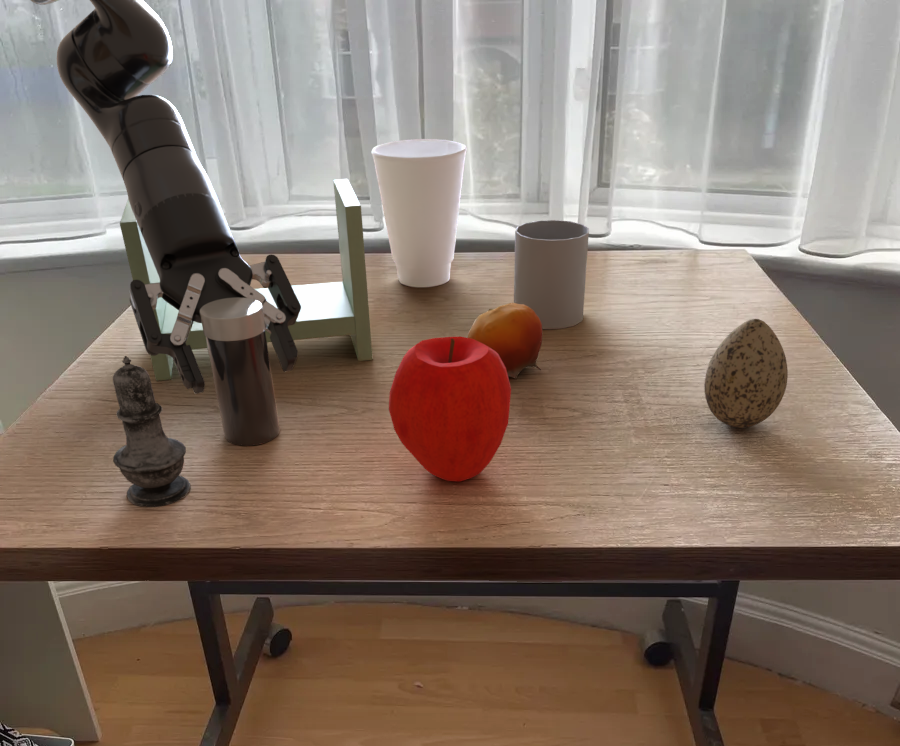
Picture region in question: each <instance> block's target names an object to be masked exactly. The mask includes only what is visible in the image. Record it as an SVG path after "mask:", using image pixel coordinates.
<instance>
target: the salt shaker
mask: <svg viewBox="0 0 900 746" xmlns="http://www.w3.org/2000/svg"><path fill="white" fill-rule="evenodd" d="M121 362H122V364H123V365H122V366H121V367H119V368H118V369H117V370H115V372H114V373H113V375H112V384H113V388H114V391H115V394H116V395H115V396H116V400H117V404H118V407H119V409H117V411H116V414H115V416H116V417H117V419H118V420H120V421H121V422H122V426H123V430H124V434H125V441H126V442H125V445H123V446H121V447H119V449H118V450H117V451H116V452H115V454H114V455H113V458H112V459H113V460H112V462H113V463H114V465H115V467H117V468H118V469H119V471H120V473H121V474H122V476H123V477H124V478H125V479H126V481H127V482H128V483H131V484H132V485H130V487H128V489H127V491H126V498H127V500H128V501H129V502H130V503H131V504H132V505H135V506H138V507H143V508H144V507H145V508H156V507H162V506H163V507H164V506H166V505H171V504H173V503H175V502H178V501H180V500H181V499H183V498H184V497H186V496H187V495H188V494H189V492H190V490H191V483H190V481H189V480H188V479H187V478H186V477H184V476H181V475H180V474H181V473H182V471H183V469H184V464H185V455H186V453H187V447H186V445H185V444H184V443H183V442H181V441H180V440H179V439H176V438H172V437H167V435H166V433H165V431H164V428H163V423H162V420H161V415H160V414H161V413H162V411H163V407H162V405H161V404H160V403H158V402H156V398H155V393H154V390H153V386H152V385H153V384H152V382H151V381H152V380H151V377H150V374H149V372H148V371H147V370H146V369H145V368H143V367H142V366H139V365H135V364H133V363H131V362H132V359H130V358H129V357H128V356H127V355H125V356H124V357H123V360H122V361H121Z"/></svg>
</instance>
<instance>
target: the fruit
mask: <svg viewBox="0 0 900 746" xmlns="http://www.w3.org/2000/svg"><path fill="white" fill-rule="evenodd" d="M466 338H471V339H474V340H476V341H478V342H480V343H482V344H484V345H486V346H488V347H489V348H491V349H493V350H494V351H495V352H497V353H498V355H499V356H500V358H501V360H502V362H503V364H504V365H505V367H506V370H507V374H508V378H513V379H515V380H517V378H518V375H519V374H520V373H521V372H522V371H523V370H524V369H527V368H536V369H538V370H539V371H542V368H540V367H539V366H538V365H537V361H538V358H539V355H540V351H541V348H542V344H543V329H542V324H541V321H540V319H539V317H538V316H537V315H536V313H535V312H534V311H533V310H532V309H531V308H530V307H528V306H526V305H524V304H516V303H514V302H510V303H506V304H502V305H499V306H498V307H495V308H489V309H488V310H487V311H486V312H482V313H481V314H479V315H478V316H477V317H476V318H475V320H474V322H473V323H472V325H471V327H470V330H469V331H468V333H467V337H466Z"/></svg>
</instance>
